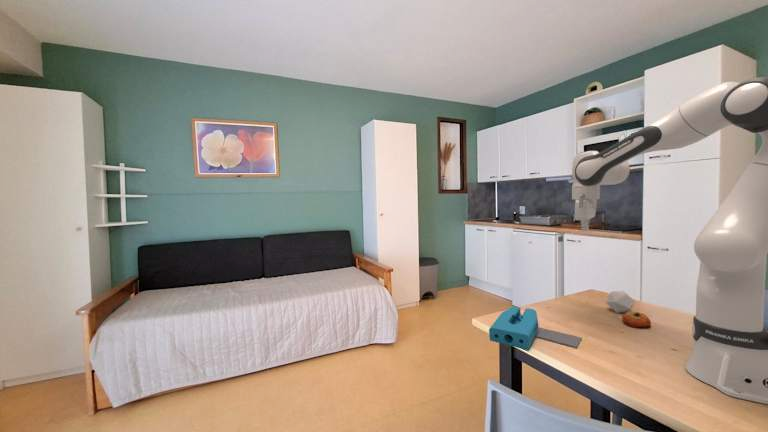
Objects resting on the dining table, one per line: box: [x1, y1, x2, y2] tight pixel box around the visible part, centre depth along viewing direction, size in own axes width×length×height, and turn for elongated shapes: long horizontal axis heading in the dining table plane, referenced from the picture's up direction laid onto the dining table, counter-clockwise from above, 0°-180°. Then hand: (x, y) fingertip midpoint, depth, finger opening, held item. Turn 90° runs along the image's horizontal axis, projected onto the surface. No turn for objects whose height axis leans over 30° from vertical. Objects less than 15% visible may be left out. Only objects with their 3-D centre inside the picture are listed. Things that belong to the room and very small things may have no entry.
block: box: [488, 305, 539, 351], centre depth 104 cm, size 12×5×20 cm
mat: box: [535, 326, 583, 349], centre depth 102 cm, size 20×8×1 cm, turn 48°
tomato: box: [621, 311, 652, 329], centre depth 109 cm, size 8×7×7 cm
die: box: [605, 290, 636, 314], centre depth 122 cm, size 8×9×10 cm
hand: (585, 230), depth 116 cm, fingers closed
